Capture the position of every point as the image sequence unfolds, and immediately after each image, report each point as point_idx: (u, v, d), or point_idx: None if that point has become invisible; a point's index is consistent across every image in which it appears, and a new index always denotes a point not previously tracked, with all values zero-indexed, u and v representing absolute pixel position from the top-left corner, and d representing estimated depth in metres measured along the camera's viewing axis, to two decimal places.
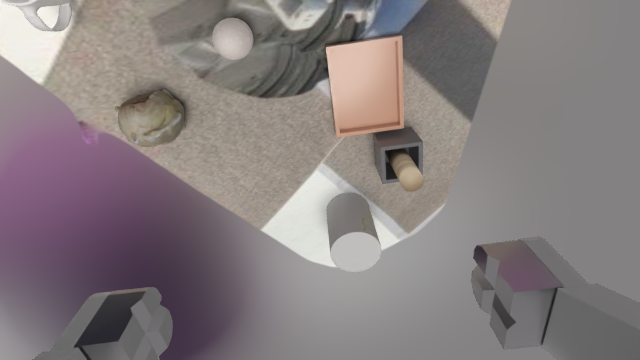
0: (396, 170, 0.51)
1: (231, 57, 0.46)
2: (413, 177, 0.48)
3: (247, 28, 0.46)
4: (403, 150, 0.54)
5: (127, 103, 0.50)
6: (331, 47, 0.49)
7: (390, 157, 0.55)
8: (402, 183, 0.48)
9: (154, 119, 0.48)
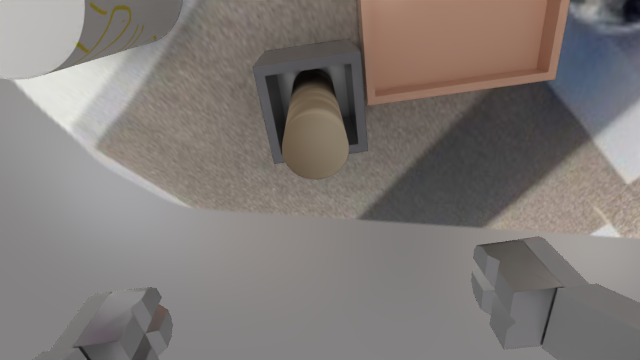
0: (318, 99, 0.18)
1: None
2: (329, 150, 0.16)
3: None
4: None
5: None
6: None
7: (319, 81, 0.22)
8: (309, 121, 0.16)
9: None
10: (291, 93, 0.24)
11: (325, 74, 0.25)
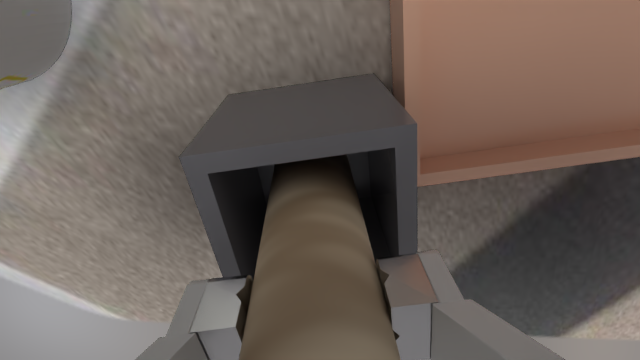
0: (327, 258, 0.07)
1: None
2: None
3: None
4: None
5: None
6: None
7: (324, 169, 0.11)
8: None
9: None
10: None
11: None
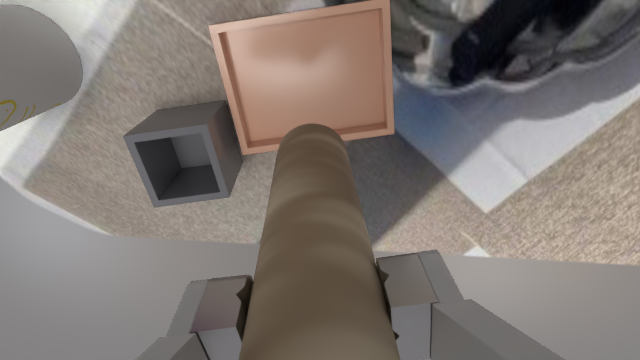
0: (327, 259, 0.07)
1: None
2: None
3: None
4: None
5: None
6: (388, 9, 0.26)
7: (324, 170, 0.11)
8: None
9: None
10: (272, 181, 0.13)
11: (334, 138, 0.14)
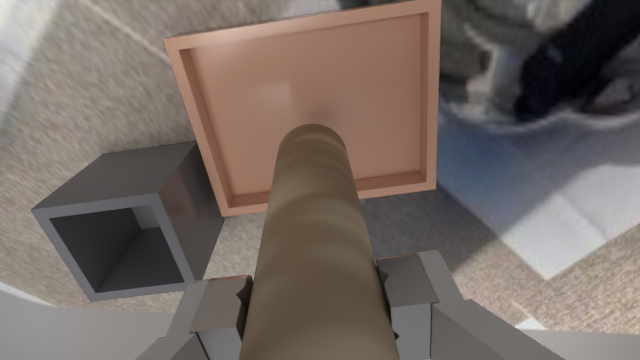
0: (327, 259, 0.07)
1: None
2: None
3: None
4: None
5: None
6: (437, 14, 0.17)
7: (324, 170, 0.11)
8: None
9: None
10: (272, 182, 0.13)
11: (334, 138, 0.14)
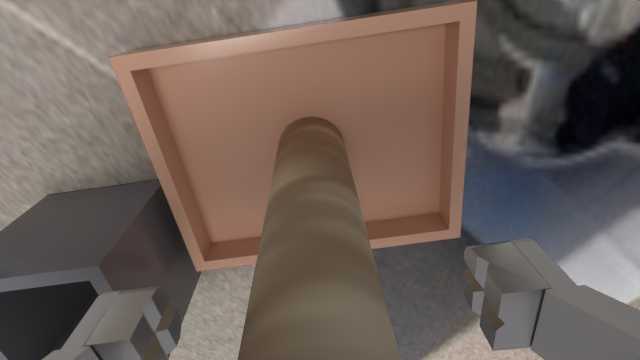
0: (324, 229, 0.08)
1: None
2: None
3: None
4: None
5: None
6: (471, 25, 0.13)
7: (322, 156, 0.12)
8: (304, 356, 0.06)
9: None
10: None
11: (332, 130, 0.15)
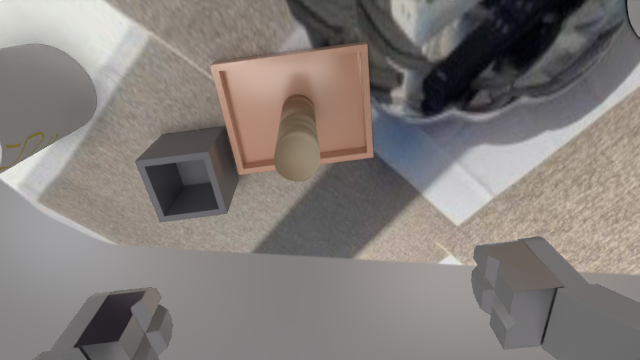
0: (300, 123, 0.26)
1: None
2: (307, 161, 0.24)
3: None
4: None
5: None
6: (366, 53, 0.30)
7: (301, 107, 0.29)
8: (293, 141, 0.23)
9: None
10: (281, 115, 0.31)
11: (307, 100, 0.33)
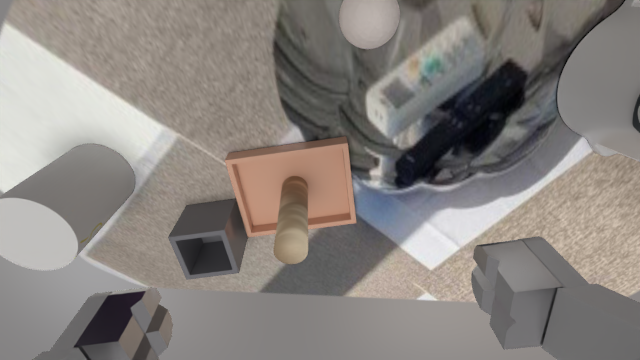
0: (293, 217, 0.34)
1: (349, 18, 0.29)
2: (298, 251, 0.32)
3: None
4: None
5: None
6: (347, 149, 0.39)
7: (296, 195, 0.38)
8: (287, 238, 0.31)
9: None
10: (280, 198, 0.39)
11: (302, 182, 0.41)
